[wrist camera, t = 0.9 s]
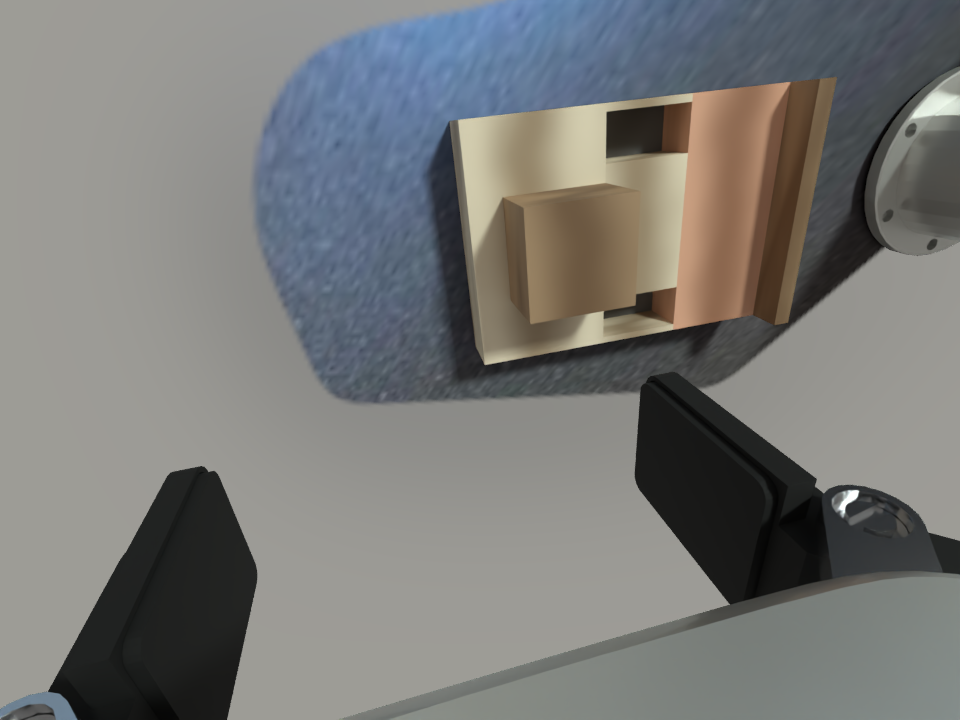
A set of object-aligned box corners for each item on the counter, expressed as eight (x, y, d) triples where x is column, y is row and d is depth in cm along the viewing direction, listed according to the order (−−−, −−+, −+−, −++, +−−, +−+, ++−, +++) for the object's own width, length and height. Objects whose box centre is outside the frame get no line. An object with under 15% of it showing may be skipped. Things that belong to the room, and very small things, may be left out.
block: (605, 183, 27) (640, 191, 24) (603, 284, 30) (635, 305, 27) (502, 197, 27) (523, 207, 23) (510, 300, 29) (530, 324, 26)
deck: (767, 84, 30) (836, 77, 26) (736, 298, 36) (787, 322, 32) (449, 120, 27) (465, 119, 23) (475, 346, 33) (492, 379, 29)
